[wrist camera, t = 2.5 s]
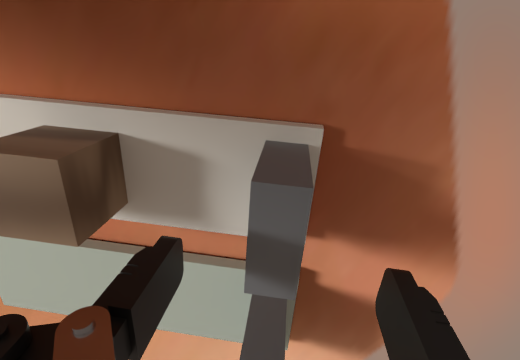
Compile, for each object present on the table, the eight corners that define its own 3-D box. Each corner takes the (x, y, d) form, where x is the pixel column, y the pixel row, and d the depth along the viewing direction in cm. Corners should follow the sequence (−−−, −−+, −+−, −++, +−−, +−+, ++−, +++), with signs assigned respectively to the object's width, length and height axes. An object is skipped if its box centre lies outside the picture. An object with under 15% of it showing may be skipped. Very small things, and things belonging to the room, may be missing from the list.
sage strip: (-14, 225, 24) (-128, 287, 17) (299, 268, 22) (300, 357, 15) (13, 296, 27) (-74, 370, 21) (287, 339, 25) (284, 437, 19)
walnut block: (44, 124, 18) (-41, 148, 14) (118, 132, 18) (57, 160, 13) (61, 194, 20) (-7, 235, 16) (128, 202, 20) (77, 246, 15)
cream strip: (-67, 87, 19) (-248, 103, 13) (322, 125, 17) (337, 167, 11) (-26, 193, 22) (-154, 248, 16) (304, 235, 20) (307, 317, 14)
